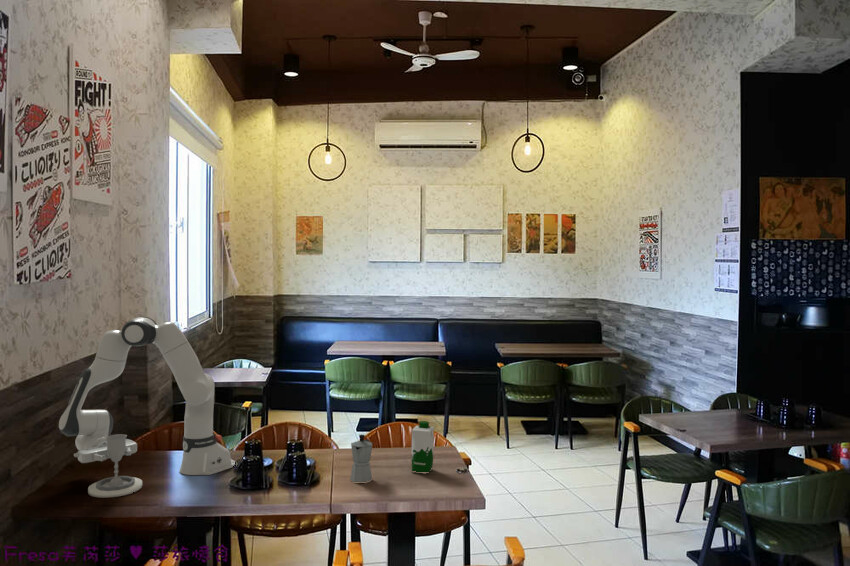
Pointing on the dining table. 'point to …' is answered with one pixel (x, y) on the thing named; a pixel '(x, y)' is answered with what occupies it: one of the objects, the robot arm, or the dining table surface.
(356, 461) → the coffee maker
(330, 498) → the dining table surface
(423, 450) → the milk carton
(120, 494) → the carrier plate
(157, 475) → the dining table surface
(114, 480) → the chalice
